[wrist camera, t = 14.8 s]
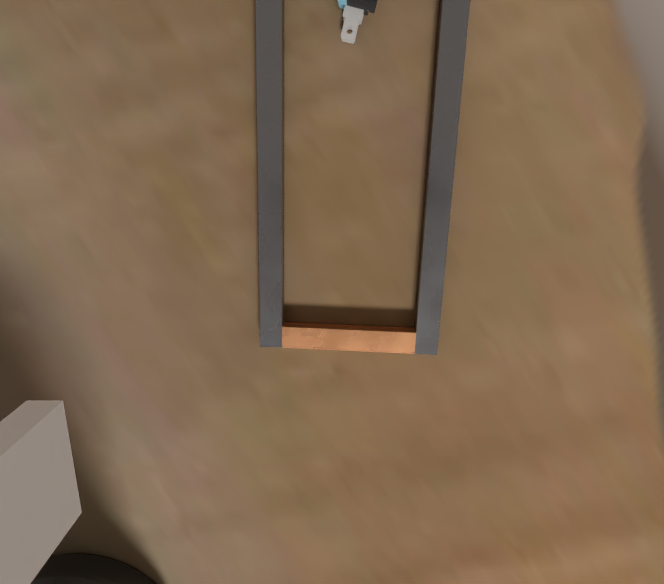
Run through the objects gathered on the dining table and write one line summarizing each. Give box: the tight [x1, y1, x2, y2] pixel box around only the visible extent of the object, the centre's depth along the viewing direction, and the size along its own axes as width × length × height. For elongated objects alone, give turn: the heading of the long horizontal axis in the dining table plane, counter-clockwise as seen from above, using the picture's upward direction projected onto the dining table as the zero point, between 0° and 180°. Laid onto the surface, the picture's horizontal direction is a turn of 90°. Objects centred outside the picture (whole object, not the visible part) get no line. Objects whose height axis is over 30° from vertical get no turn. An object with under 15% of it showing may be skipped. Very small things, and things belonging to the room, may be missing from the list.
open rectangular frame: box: [255, 0, 470, 355], centre depth 32 cm, size 12×28×1 cm, turn 179°
